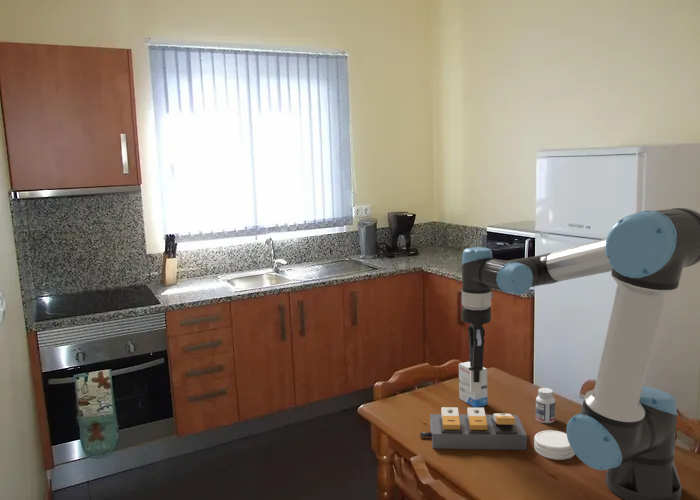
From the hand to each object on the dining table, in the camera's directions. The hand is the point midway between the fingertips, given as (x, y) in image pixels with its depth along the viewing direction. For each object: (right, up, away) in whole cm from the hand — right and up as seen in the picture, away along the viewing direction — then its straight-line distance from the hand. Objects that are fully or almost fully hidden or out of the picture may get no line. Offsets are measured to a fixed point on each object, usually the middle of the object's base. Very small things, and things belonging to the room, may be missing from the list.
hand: (475, 391), depth 156 cm
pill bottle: (+22, -11, +11) cm, 27 cm away
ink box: (+4, -9, +24) cm, 26 cm away
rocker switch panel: (-1, -13, +1) cm, 13 cm away
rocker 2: (0, -7, -2) cm, 7 cm away
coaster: (+19, -14, -7) cm, 24 cm away
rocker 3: (+7, -7, -2) cm, 10 cm away
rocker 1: (-7, -7, -1) cm, 10 cm away
